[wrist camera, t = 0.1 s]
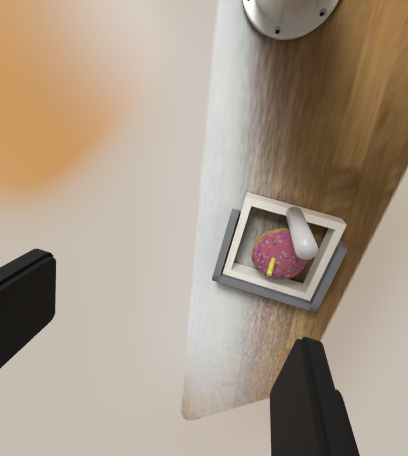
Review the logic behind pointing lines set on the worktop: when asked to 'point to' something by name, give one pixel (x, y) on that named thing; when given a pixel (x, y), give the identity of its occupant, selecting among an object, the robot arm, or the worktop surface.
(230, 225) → the holder bay
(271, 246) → the pink frosted cake
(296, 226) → the collar
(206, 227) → the worktop surface
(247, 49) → the worktop surface
